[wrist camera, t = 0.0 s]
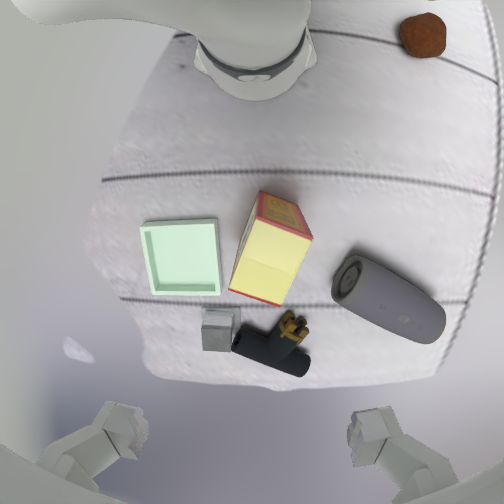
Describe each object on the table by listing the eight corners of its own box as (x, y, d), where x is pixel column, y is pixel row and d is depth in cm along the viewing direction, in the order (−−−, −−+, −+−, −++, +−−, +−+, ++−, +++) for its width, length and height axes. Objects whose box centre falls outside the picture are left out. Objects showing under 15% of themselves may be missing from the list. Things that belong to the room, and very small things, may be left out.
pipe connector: (263, 313, 46) (333, 345, 49) (262, 296, 51) (327, 327, 54) (230, 357, 50) (297, 382, 53) (232, 339, 55) (294, 364, 58)
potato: (441, 37, 31) (463, 28, 24) (424, 74, 35) (447, 68, 28) (405, 8, 30) (423, -6, 23) (385, 45, 34) (403, 32, 27)
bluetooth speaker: (323, 285, 50) (335, 316, 41) (353, 242, 47) (371, 267, 38) (406, 327, 54) (424, 357, 44) (433, 293, 50) (456, 319, 41)
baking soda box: (275, 256, 49) (279, 308, 34) (239, 243, 48) (227, 291, 33) (297, 205, 45) (313, 238, 30) (259, 190, 45) (256, 216, 30)
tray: (146, 221, 47) (139, 227, 45) (217, 218, 47) (214, 223, 44) (157, 286, 52) (152, 294, 49) (223, 287, 51) (220, 295, 49)
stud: (202, 306, 53) (197, 320, 49) (239, 306, 53) (237, 320, 49) (206, 335, 56) (202, 350, 52) (241, 336, 55) (240, 351, 51)
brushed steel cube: (205, 310, 52) (201, 328, 47) (232, 312, 53) (230, 330, 47) (206, 331, 54) (202, 350, 49) (232, 333, 54) (230, 352, 49)
